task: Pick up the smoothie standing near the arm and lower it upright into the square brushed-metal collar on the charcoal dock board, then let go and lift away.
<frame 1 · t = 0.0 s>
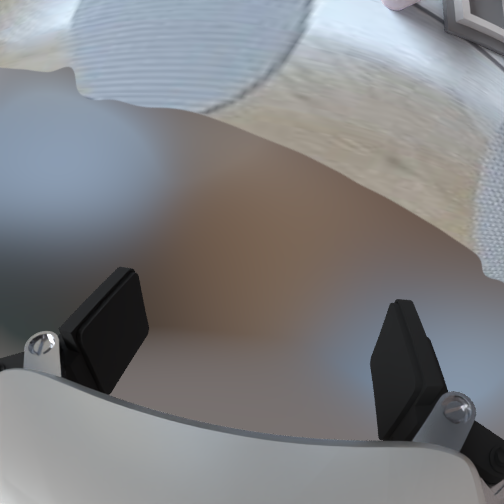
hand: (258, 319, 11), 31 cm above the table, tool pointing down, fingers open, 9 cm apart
dock: (479, 6, 21), on the table
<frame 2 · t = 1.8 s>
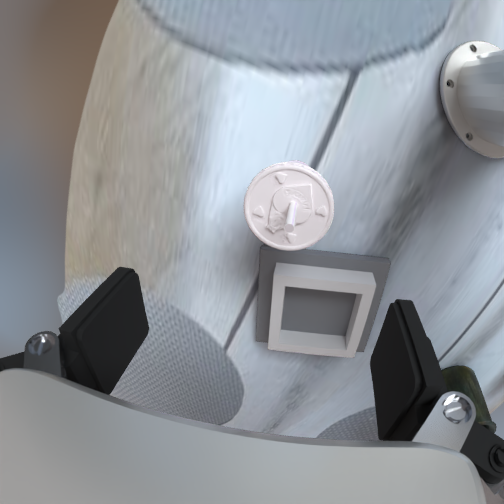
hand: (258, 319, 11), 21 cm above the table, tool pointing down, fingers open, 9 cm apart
dock: (318, 301, 35), on the table
smoothie: (295, 178, 29), on the table
mug: (441, 381, 38), on the table
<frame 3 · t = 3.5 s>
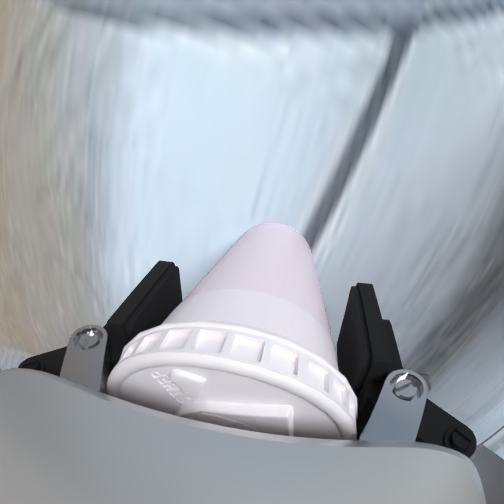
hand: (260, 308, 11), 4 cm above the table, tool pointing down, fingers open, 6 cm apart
smoothie: (273, 256, 15), on the table, touching gripper
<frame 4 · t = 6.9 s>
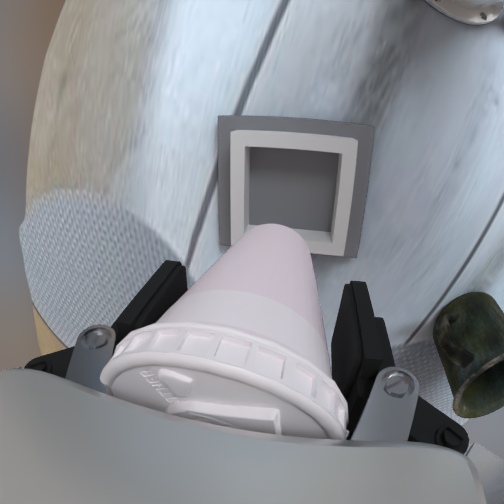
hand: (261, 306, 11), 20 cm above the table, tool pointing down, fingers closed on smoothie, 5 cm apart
dock: (292, 185, 29), on the table
smoothie: (273, 257, 15), point 16 cm above the table, touching gripper
mug: (457, 315, 32), on the table
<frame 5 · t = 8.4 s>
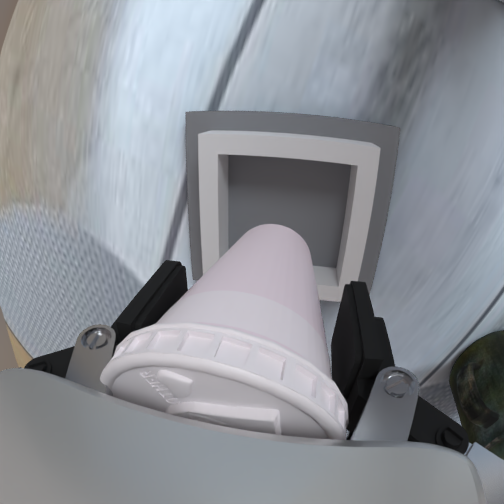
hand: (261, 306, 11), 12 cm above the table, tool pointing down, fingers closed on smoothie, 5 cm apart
dock: (287, 204, 22), on the table
smoothie: (273, 258, 15), point 8 cm above the table, touching gripper
mug: (478, 356, 25), on the table
when the fingers open (7 cm above the table, at t = 9.8 s): smoothie drops 2 cm, resting on dock.
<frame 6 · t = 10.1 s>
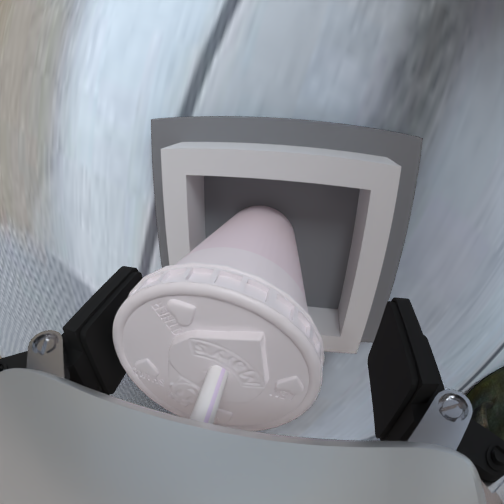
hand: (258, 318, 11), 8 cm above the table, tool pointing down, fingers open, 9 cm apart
dock: (279, 233, 18), on the table
smoothie: (261, 236, 17), point 1 cm above the table, touching dock
mug: (490, 388, 21), on the table
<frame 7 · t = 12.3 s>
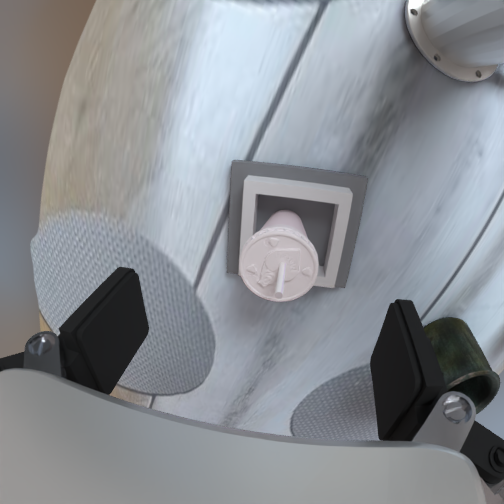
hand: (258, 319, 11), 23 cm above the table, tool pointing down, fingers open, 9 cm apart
dock: (293, 224, 34), on the table
smoothie: (285, 225, 33), point 1 cm above the table, touching dock
mug: (433, 337, 38), on the table
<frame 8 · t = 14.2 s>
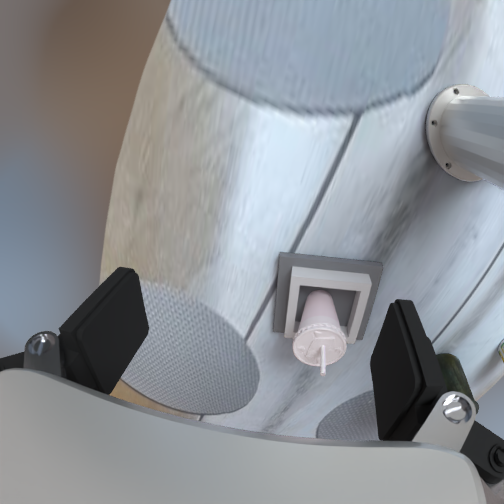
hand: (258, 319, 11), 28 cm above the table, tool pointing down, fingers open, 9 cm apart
dock: (325, 297, 43), on the table
smoothie: (319, 300, 42), point 1 cm above the table, touching dock
mug: (430, 367, 46), on the table
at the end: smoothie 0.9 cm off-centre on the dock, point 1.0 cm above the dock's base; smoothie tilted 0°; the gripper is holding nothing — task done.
